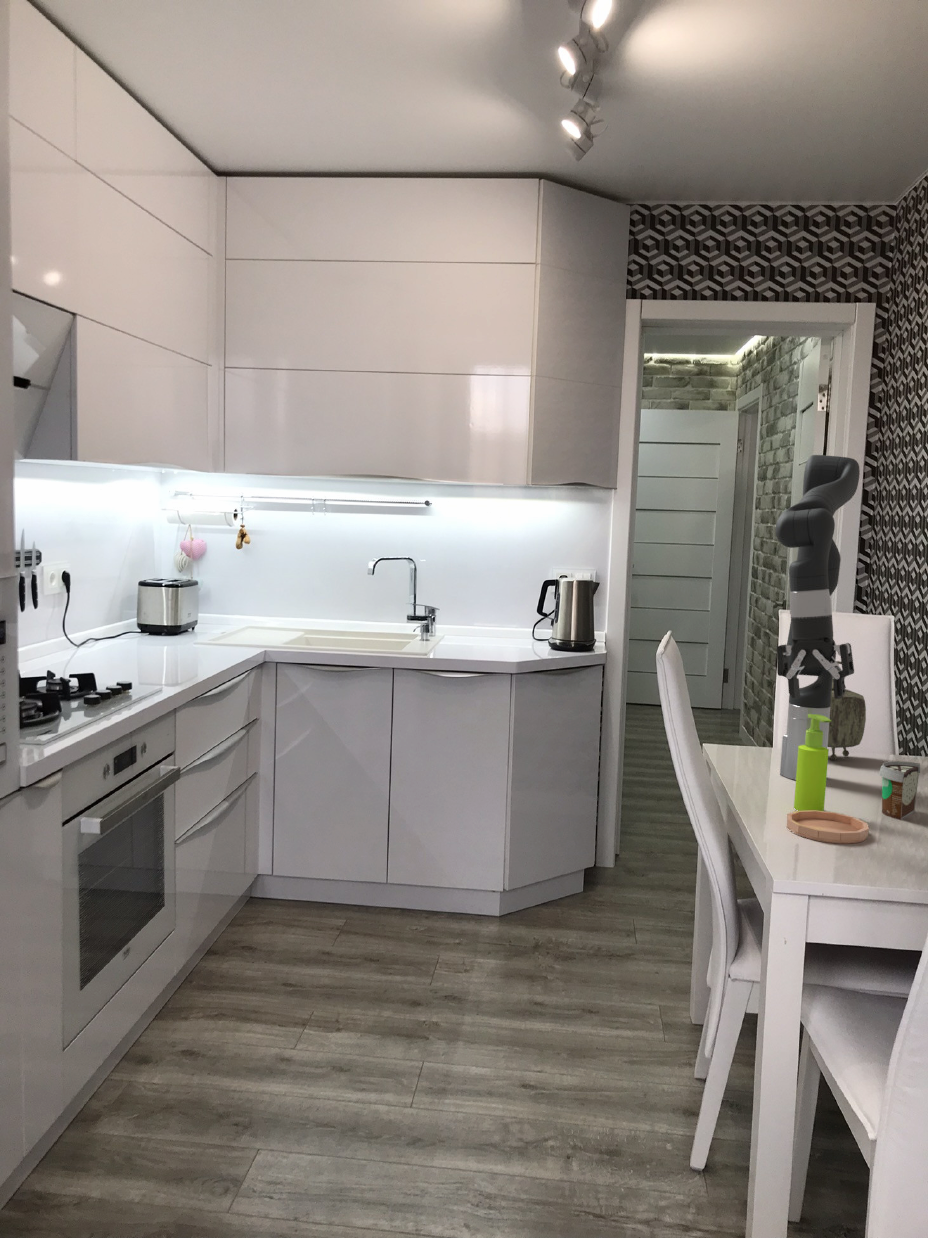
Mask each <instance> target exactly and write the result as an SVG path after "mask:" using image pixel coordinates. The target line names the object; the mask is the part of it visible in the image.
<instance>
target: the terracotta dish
mask: <svg viewBox="0 0 928 1238" xmlns="http://www.w3.org/2000/svg"><path fill="white" fill-rule="evenodd" d="M787 828H788V829H789V830H791V831H792V832H794V833H795V834H794V833H793V834H794V835H796V834H798V835H797V836H799V837H801V836H802V838H805V837H806V839H809V840H812V841H818V842H823V843H831V844H857V843H861V842H864V841H866V840H867V838H868V836H869V831H870V828H869V825H868V823H867V822H866V821H863V820H861V819H859V818H857V817H855V816H851V815H846V814H843V813H839V812H833V811H825V810H824V811H817V810H805V811H796V810H794V811H792V812H789V813H787V814H786V829H787ZM788 829H787V830H788ZM789 830H788V831H789ZM791 831H790V832H791ZM792 832H791V833H792Z"/></svg>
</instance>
